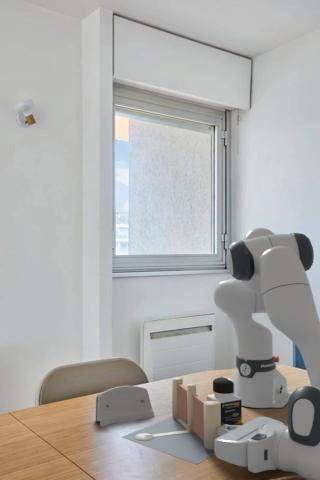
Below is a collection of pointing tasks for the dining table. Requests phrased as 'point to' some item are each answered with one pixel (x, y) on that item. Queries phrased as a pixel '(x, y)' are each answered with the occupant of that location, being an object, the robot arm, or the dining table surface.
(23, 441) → the dining table surface
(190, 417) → the fixed fence
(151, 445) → the board
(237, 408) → the medicine bottle
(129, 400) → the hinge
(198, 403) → the swing panel
